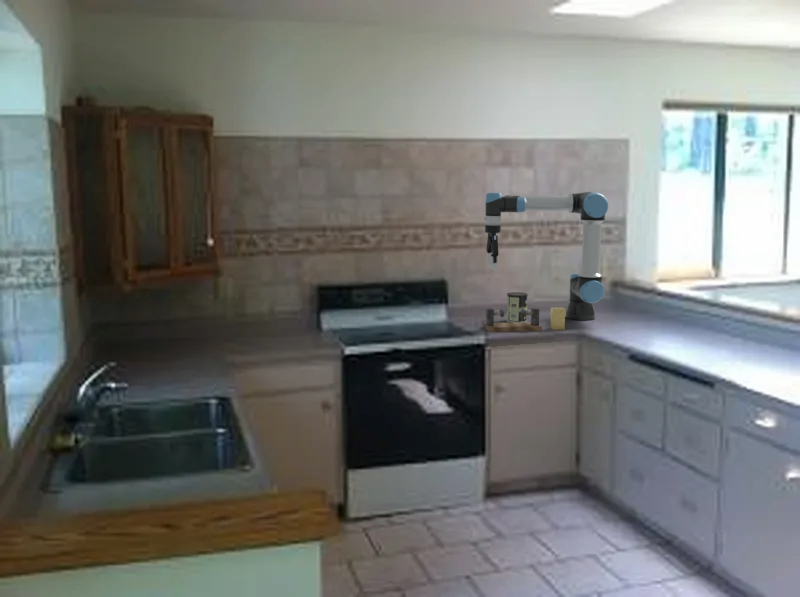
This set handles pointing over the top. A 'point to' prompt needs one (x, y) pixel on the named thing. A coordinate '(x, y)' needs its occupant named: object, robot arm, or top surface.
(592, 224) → the robot arm
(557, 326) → the coupler
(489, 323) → the shaft stand
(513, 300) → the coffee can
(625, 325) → the top surface
